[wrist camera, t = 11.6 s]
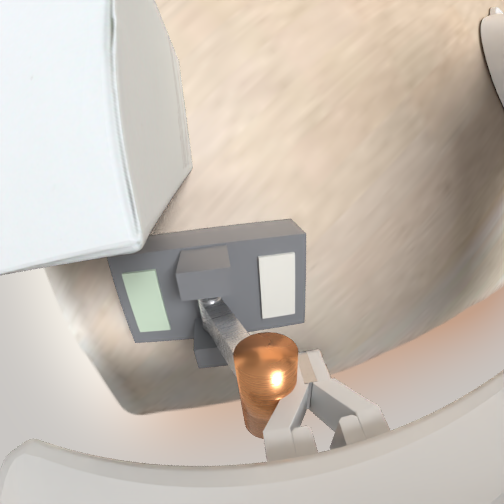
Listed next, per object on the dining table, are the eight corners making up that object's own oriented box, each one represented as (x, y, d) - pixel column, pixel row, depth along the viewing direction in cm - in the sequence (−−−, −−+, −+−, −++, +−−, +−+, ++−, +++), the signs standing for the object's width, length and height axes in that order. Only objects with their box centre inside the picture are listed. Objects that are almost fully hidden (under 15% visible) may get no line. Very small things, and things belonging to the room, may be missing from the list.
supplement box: (71, 90, 12) (-81, 59, 1) (181, 58, 13) (135, -88, 1) (85, 197, 15) (-61, 295, 3) (195, 173, 16) (153, 256, 4)
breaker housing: (290, 218, 18) (325, 252, 12) (292, 298, 20) (318, 350, 15) (121, 239, 16) (88, 281, 11) (143, 316, 19) (126, 373, 13)
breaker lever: (221, 266, 14) (311, 358, 8) (229, 328, 16) (303, 425, 9) (183, 276, 13) (250, 385, 7) (197, 339, 15) (258, 446, 8)
